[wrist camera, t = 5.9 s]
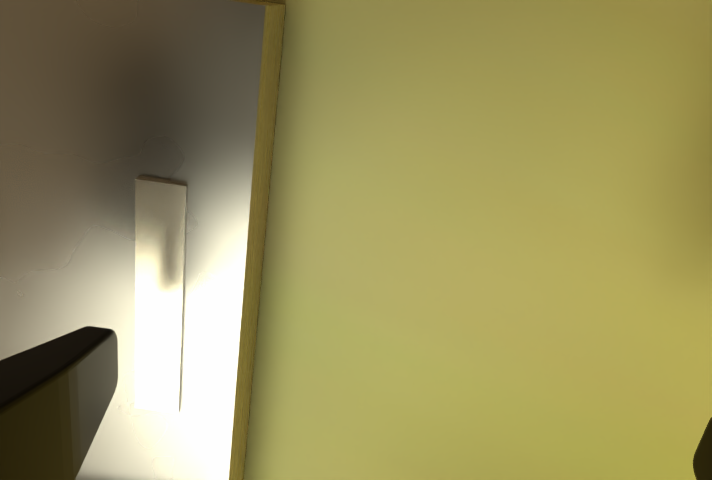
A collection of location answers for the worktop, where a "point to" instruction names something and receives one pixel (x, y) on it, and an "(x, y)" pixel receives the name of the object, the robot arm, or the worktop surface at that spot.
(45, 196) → the breaker panel
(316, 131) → the worktop surface
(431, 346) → the worktop surface
